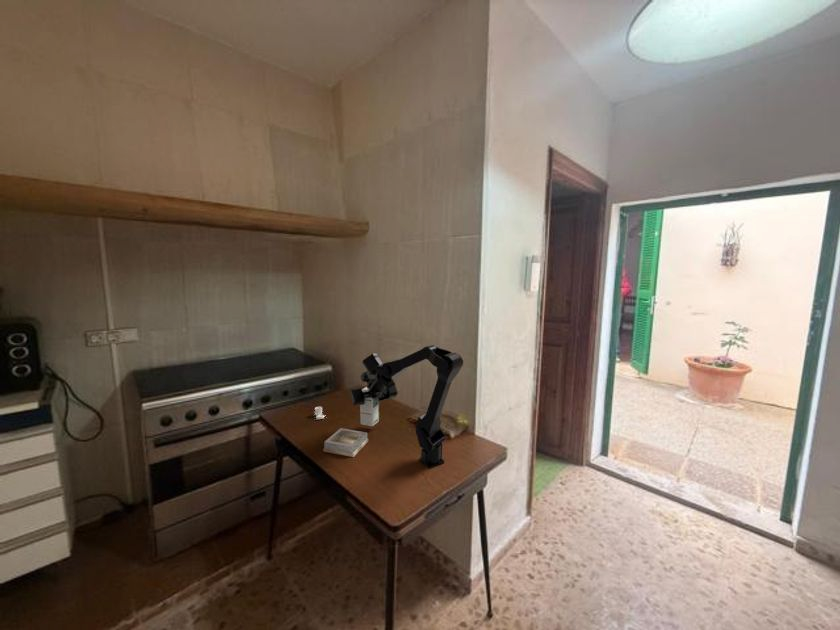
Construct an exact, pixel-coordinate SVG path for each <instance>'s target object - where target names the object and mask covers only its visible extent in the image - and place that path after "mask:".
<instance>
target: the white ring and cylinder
mask: <svg viewBox="0 0 840 630" xmlns="http://www.w3.org/2000/svg"><path fill="white" fill-rule="evenodd" d="M322 412H323V406H316V407H314V413H315V414H314V415H315V418H316V419H315V420H323V419H325V418H324V417H325V416H326V415H325V414H323V413H322Z"/></svg>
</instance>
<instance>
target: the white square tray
mask: <svg viewBox="0 0 840 630" xmlns="http://www.w3.org/2000/svg"><path fill="white" fill-rule="evenodd" d="M368 442H369V438H368V432H365V431H360V430H354V429H349V428H343V427H342V428H341V427H340V428H339V429H338V430H336V431H335V432H334V433H333V434H332V435H330V436H329V437H328V438H327V439H326V440H324V443H323V445H324V448H323V450H322V451H323V452H326V453H331V454H335V455H340V456H345V457H353V458H354V457H355V456H356V455H357V454H358V453H359V452H360V451H361V450H362V448H364V446H365V445H366V444H367V443H368Z"/></svg>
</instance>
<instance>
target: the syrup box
mask: <svg viewBox="0 0 840 630" xmlns="http://www.w3.org/2000/svg"><path fill="white" fill-rule="evenodd" d="M361 389H362V392H363V393H364V392H368V388H367V386H366V387H364V388H361ZM365 397H366V396H365ZM359 408H360V416H359V417H360V425H363V426H368V427H374V426H375V425H376V424H377V423H379V421H380V401H379V398H375V399H372V398H367V399H365V404H363V405H360V407H359Z"/></svg>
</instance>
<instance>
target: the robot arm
mask: <svg viewBox="0 0 840 630" xmlns="http://www.w3.org/2000/svg"><path fill="white" fill-rule="evenodd" d="M426 360H427V361H429V363H430V364H431V365H432V366H434V367H435V368H436V373H437V374H436V375H437V379H436V382H435V385H434V389H433V392H432V394H431V397H430V401H429V404H428V406H427V410H426V412H425V413H424V414H422V415H420V416H418V418H417V421H416V425H415V426H414V428H415V434H416V437H417V441H418V445H419V447H420V448H421V451H420V457H419V460H420V461H421V462H422V463H423V464H424V465H426V466H427V468H429V469H431V468H434V467H437V466H439V465H441V464H445V460H444V459H443V443H444V442H445V440H446V438H447V435H446V434H445V432H444V431H443V429H442V428H441V424H442V422H441V414H442V410H443V407H444V406H445V402H446V400H447V397H448V395H449V391H450V387H451V385H452V382H453V380H454V379H455V378H456V376H457V375H458V374H459V373H460V372H461V369H462V367H463V365H464V360H463V358H462V356H461V355H460V354H459V353H458V352H452V351H450V350H448V349H444V348H440V347H438V346H436V345H434V344H431V345H427V346H424V347H423V348H422V349H419V350H417V351H415V352H413V353H411V354H409V355H407V356H404V357H403V358H398V359H394V360H392V361H391V360H390V361H386V362H384V363H383V362H382V360H381V358H379V356H378V354H377V352H374V353H371V354H370V355H369V356H367V357H365V358H363V360H362V361H361V362H362V363H361V364H362V365H363V366H364V368H365V369H366V371H364V372H362V373H361V374H360V380H361V381H362V382H363V383H366V387H367V388H368V392H364V393H363V392H362V389H363V388H362V387H355V388H351V390H350V391H349V395H350V399H351V401H352V404H353V406H358V407H359V406H360V405H363V404H365V399H367V398H372V399H375V398H379V402H383V401H386V400H390V399H392V398H396V397H397V395H398V394H399V393H398V388H397V387H396V382H395V381H394V379H393V378H394V377H398V376H400V375H402V374H404V373H405V372H406V371H407V369H409V368H411V367H412V366H414V365H417V364H419V363H422V362H424V361H426ZM365 396H366V397H365Z"/></svg>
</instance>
